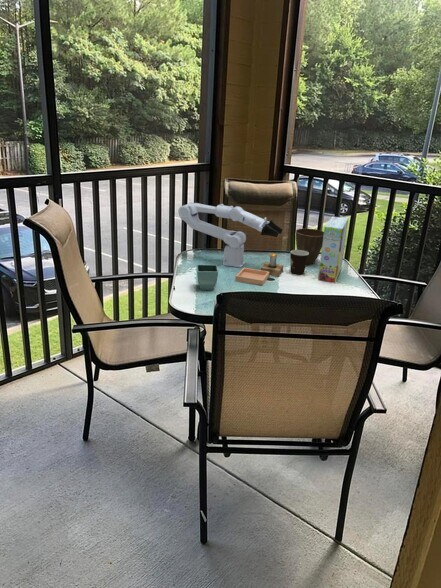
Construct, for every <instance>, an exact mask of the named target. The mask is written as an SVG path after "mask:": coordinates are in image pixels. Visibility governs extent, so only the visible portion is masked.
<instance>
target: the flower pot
mask: <svg viewBox="0 0 441 588" xmlns="http://www.w3.org/2000/svg"><path fill="white" fill-rule="evenodd" d="M196 275H197V283H198V286H199V289H200V290H206V291H207V290H210V291H213V290H214V289H215V287H216V285H217V282H218V279H219V278H218V276H219V269H218V264H196Z"/></svg>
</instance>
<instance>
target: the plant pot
mask: <svg viewBox="0 0 441 588" xmlns="http://www.w3.org/2000/svg"><path fill="white" fill-rule="evenodd" d="M323 236H324V230H320V229H315V228H298V229H296V230H295V243H296V250H303V251H306V252H308V253H309V255H308V259H307V263H306V266H307V265H308V266H311V265H315V263H316V262H317V261H316V260H317V259H318V256H319V255H320V253H321V252H322V244H323Z"/></svg>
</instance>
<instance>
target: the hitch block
mask: <svg viewBox="0 0 441 588" xmlns="http://www.w3.org/2000/svg"><path fill="white" fill-rule="evenodd" d="M260 270H262V271H268V272H270V274H269V276H270V275H271V277H277V278H279V277H280V276H281V275H282V273H283V272H284V264H279V263H276V266H275V268H270V267H269V262H264V263H263V264H262V266H261V267H260Z"/></svg>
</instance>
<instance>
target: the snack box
mask: <svg viewBox="0 0 441 588" xmlns="http://www.w3.org/2000/svg"><path fill="white" fill-rule="evenodd" d="M348 223H349V218H348V217H339V216H331V218H329V221H328V222H327V223H326V224H325V226H324V229H323V232H324V236H323V244H322V248H321V252H320V253H321V254H320V262H319V271H318V278H317V280H318V281H322V282H329V283H335V284H336V281H337V279H338V276H339V275H340V273H341V270H342V269H343V268H342V266H343V261H344V251H345V247H346V246H345V245H346V239H347V231H348Z"/></svg>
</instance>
